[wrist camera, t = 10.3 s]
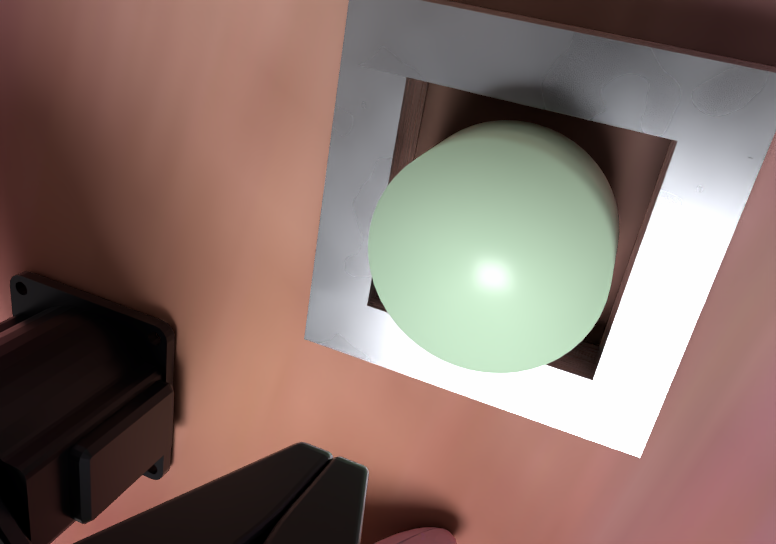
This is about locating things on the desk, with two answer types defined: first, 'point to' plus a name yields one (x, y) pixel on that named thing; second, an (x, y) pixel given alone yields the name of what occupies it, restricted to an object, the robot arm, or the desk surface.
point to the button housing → (570, 97)
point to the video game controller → (421, 537)
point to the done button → (496, 247)
